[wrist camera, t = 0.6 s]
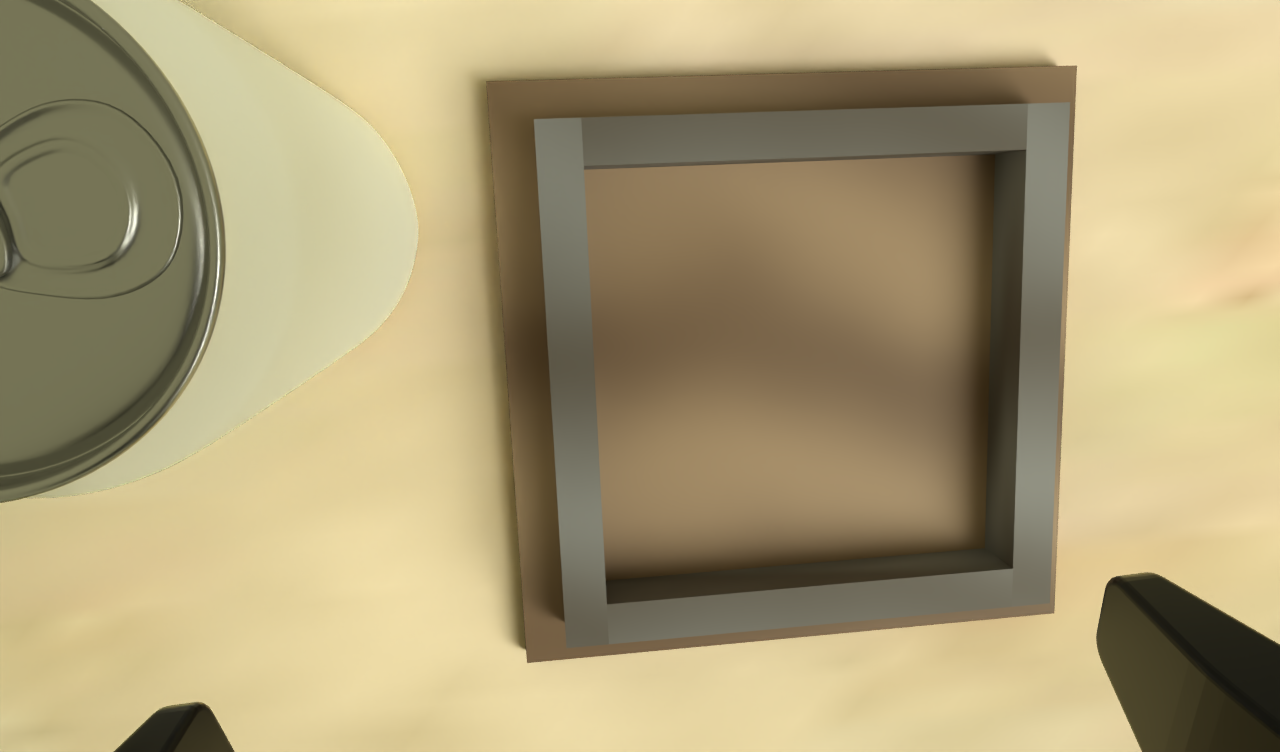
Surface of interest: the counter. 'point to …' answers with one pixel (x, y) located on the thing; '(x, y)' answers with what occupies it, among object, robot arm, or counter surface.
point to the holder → (782, 350)
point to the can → (172, 238)
